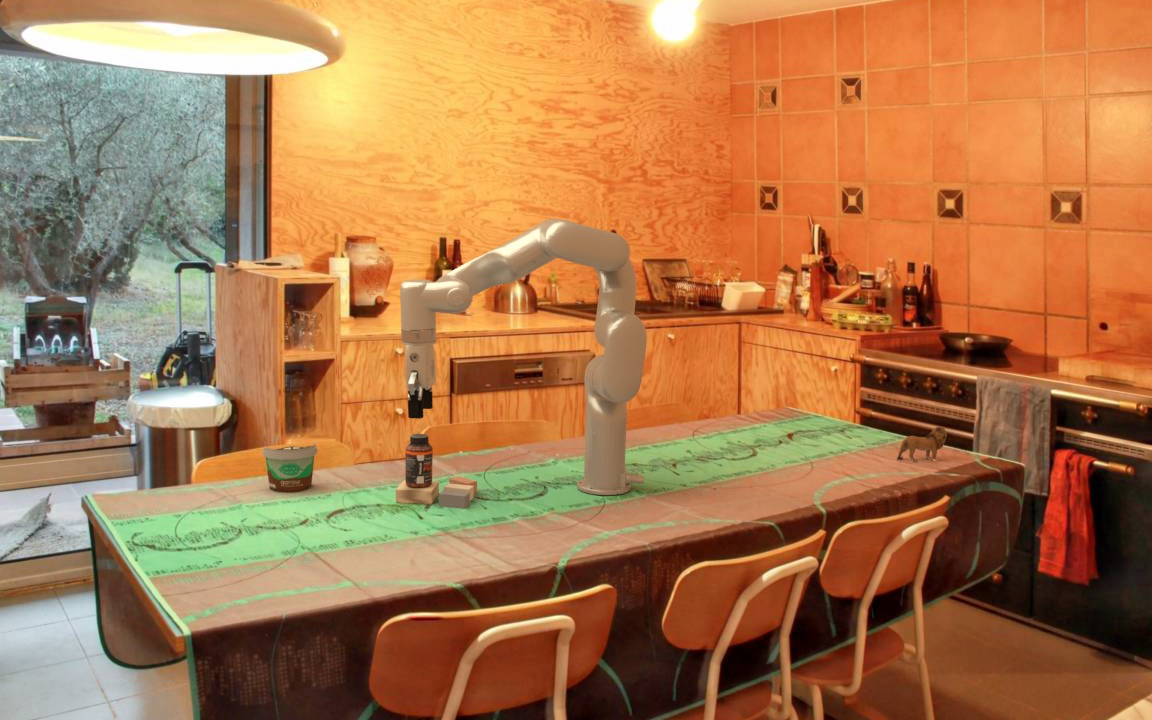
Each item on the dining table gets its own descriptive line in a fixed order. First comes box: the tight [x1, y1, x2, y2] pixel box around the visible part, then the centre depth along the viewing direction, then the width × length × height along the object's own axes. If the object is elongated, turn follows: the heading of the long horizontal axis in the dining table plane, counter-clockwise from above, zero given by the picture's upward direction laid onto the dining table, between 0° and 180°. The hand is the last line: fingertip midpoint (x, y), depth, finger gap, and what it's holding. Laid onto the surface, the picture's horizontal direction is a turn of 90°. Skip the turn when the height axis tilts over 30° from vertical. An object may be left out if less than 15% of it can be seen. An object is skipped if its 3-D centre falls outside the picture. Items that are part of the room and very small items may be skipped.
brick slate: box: [438, 489, 471, 510], centre depth 232 cm, size 6×3×3 cm, turn 75°
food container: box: [261, 441, 319, 494], centre depth 239 cm, size 12×6×10 cm, turn 117°
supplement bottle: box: [404, 433, 434, 488], centre depth 235 cm, size 6×6×11 cm
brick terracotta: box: [448, 475, 478, 495], centre depth 242 cm, size 6×3×3 cm, turn 51°
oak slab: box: [395, 479, 440, 505], centre depth 236 cm, size 8×8×3 cm
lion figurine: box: [896, 426, 948, 462], centre depth 284 cm, size 15×5×9 cm, turn 108°
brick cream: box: [443, 483, 475, 501], centre depth 237 cm, size 6×3×3 cm, turn 75°
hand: (420, 413), depth 233 cm, fingers open, 9 cm apart
